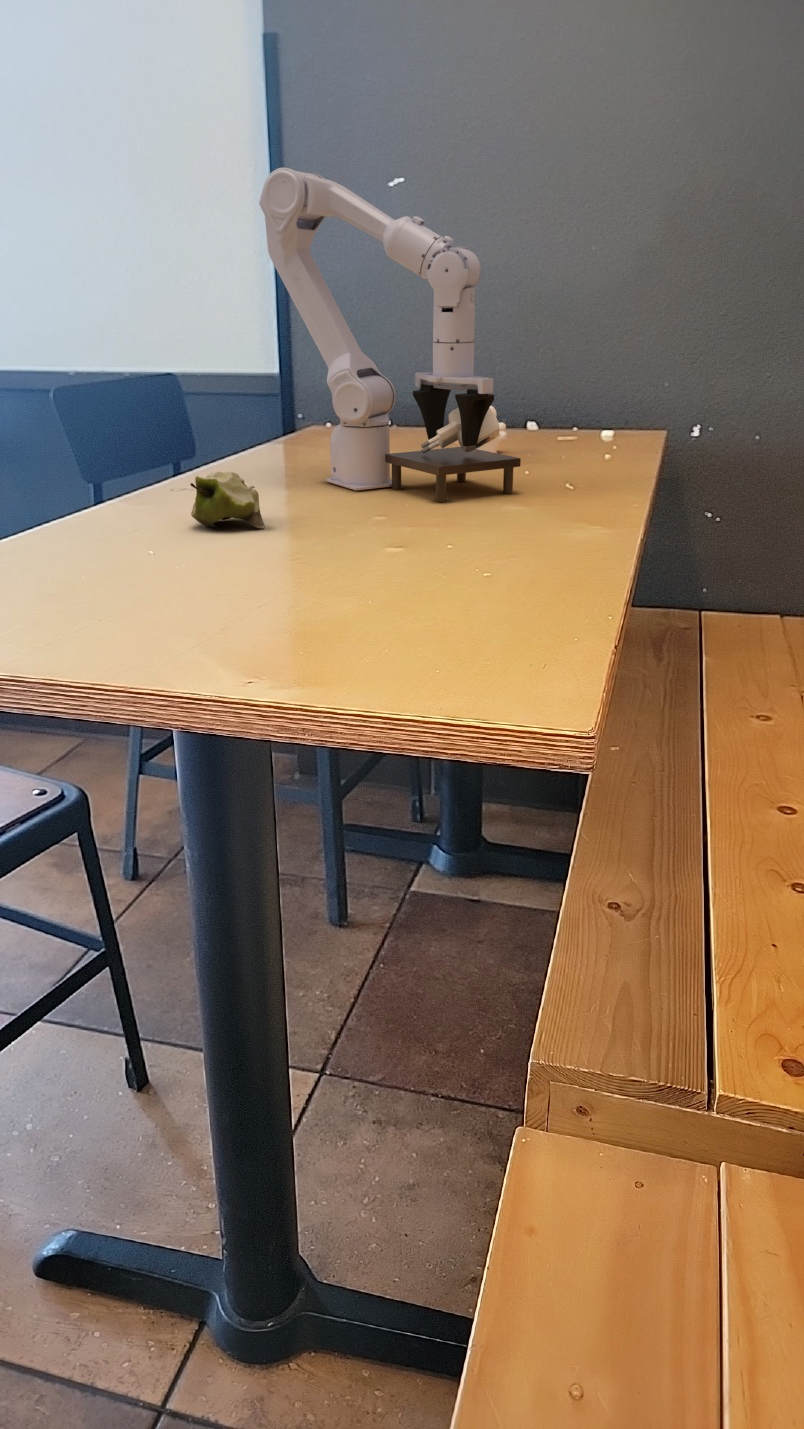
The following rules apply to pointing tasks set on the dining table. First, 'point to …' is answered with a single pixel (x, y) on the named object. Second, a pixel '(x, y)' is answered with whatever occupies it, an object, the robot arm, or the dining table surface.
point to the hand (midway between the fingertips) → (452, 442)
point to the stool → (452, 466)
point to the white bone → (496, 442)
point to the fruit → (225, 500)
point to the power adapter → (453, 434)
